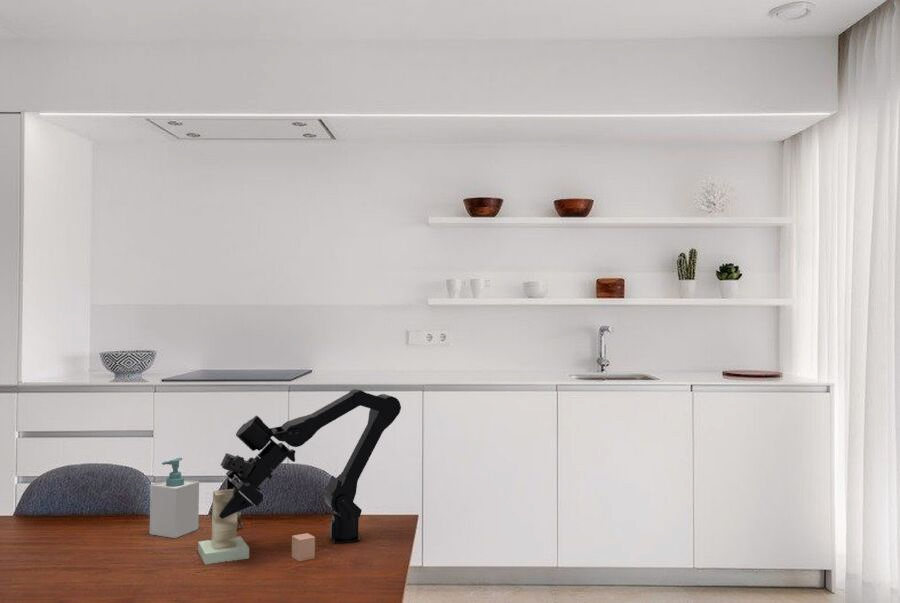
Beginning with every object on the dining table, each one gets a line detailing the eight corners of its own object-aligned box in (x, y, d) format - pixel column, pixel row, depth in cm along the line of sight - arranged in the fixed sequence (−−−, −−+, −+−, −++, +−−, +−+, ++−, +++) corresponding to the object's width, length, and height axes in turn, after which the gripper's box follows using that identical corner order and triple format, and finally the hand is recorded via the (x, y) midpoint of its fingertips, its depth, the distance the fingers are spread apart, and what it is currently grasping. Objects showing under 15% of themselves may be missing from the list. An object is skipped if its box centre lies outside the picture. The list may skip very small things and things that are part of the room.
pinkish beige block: (306, 553, 176) (307, 532, 176) (314, 558, 173) (315, 537, 173) (291, 556, 174) (292, 535, 174) (299, 561, 170) (299, 540, 171)
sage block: (240, 548, 181) (240, 536, 181) (249, 560, 172) (249, 548, 172) (198, 554, 176) (198, 541, 176) (204, 567, 168) (205, 553, 168)
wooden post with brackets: (247, 524, 196) (241, 510, 195) (224, 543, 190) (218, 529, 189) (243, 523, 197) (237, 509, 196) (220, 542, 191) (214, 528, 190)
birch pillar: (232, 540, 178) (234, 488, 178) (236, 546, 173) (238, 493, 174) (211, 542, 176) (213, 490, 176) (214, 548, 171) (216, 495, 171)
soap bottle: (148, 534, 189) (150, 460, 189) (173, 525, 197) (174, 454, 197) (174, 538, 186) (176, 463, 186) (198, 529, 194) (200, 457, 194)
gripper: (235, 435, 185) (188, 483, 180) (249, 448, 168) (198, 501, 163) (266, 464, 188) (221, 511, 183) (283, 479, 171) (234, 532, 166)
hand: (218, 513), depth 174 cm, fingers open, 7 cm apart
